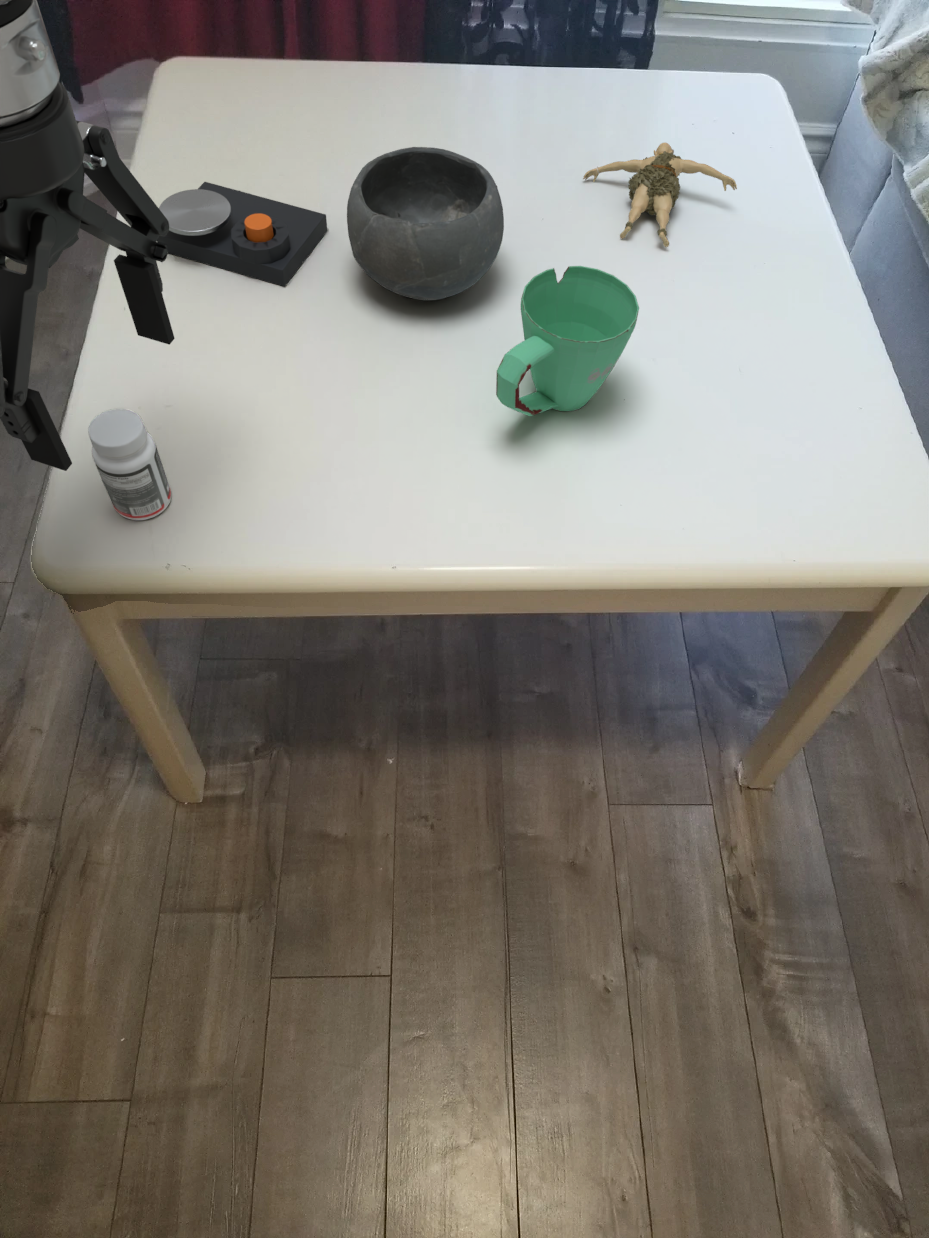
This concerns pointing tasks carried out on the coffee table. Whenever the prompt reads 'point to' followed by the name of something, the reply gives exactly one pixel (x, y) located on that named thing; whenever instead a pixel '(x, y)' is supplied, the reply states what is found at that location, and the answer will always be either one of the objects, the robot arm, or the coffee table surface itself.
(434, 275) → the bowl
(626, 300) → the mug
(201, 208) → the scale pan
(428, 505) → the coffee table surface
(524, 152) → the coffee table surface
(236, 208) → the scale
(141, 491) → the pill bottle
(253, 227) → the button
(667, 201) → the figurine
